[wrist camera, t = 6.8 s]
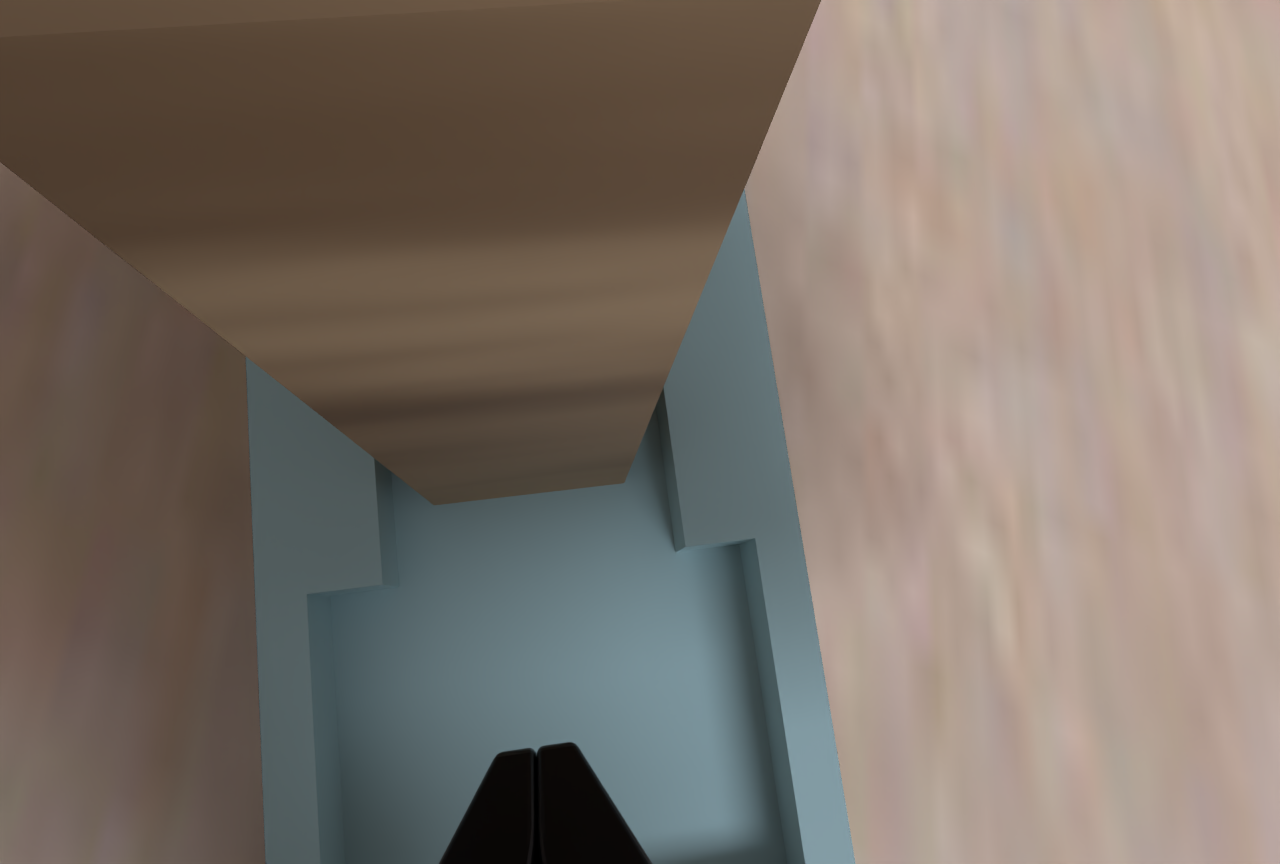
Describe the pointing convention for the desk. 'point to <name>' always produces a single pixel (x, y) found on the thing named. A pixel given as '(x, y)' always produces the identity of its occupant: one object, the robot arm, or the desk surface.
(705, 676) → the slot base
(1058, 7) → the desk surface
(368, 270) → the brown wooden block
